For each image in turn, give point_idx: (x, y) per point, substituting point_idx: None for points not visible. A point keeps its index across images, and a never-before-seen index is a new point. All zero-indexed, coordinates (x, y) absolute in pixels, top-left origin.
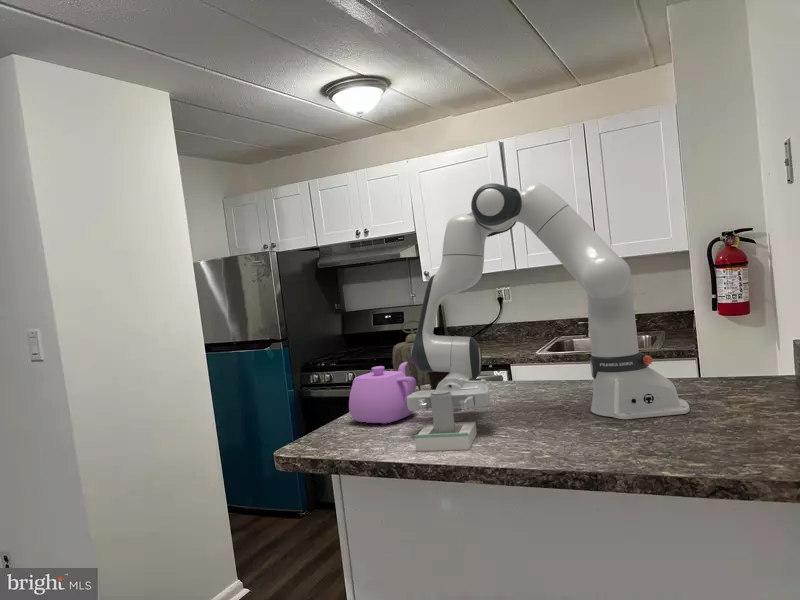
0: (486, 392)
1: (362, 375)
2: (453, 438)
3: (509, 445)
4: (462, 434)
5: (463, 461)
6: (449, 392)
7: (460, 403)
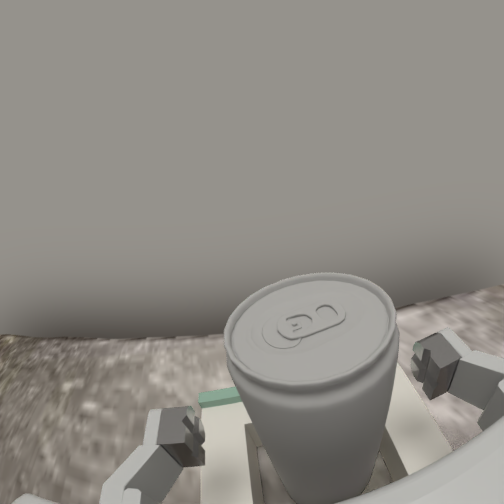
0: (16, 499)
1: None
2: None
3: (109, 452)
4: (217, 392)
5: (217, 353)
6: (228, 334)
7: (188, 406)
